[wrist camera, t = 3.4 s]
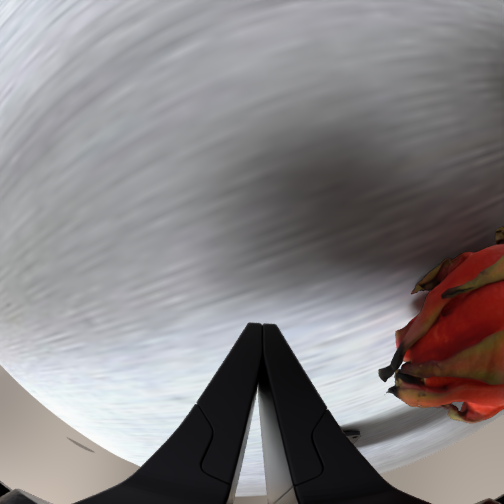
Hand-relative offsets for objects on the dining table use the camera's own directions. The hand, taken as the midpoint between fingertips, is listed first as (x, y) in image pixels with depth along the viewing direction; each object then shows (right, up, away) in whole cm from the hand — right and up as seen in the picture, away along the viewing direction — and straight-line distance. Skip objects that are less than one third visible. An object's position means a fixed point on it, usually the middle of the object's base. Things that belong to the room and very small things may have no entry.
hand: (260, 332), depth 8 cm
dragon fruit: (+10, +1, +3) cm, 11 cm away
